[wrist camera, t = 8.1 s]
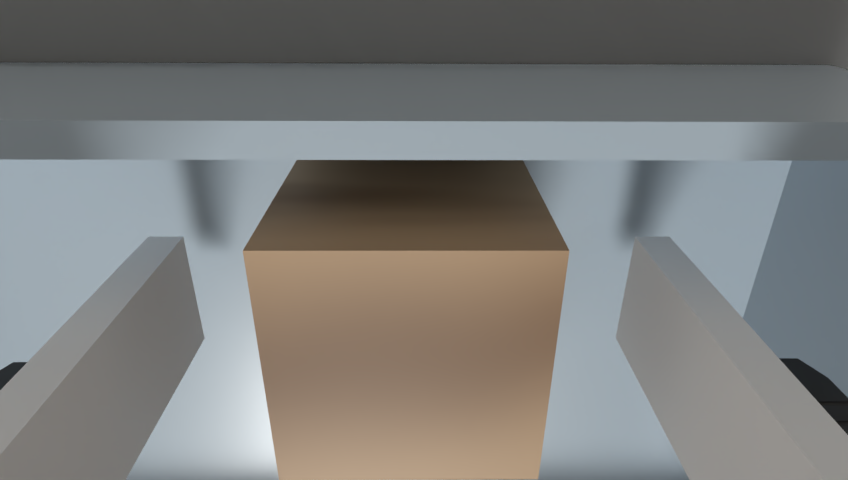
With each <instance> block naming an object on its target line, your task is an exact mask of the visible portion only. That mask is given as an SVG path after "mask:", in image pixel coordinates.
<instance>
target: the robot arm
mask: <svg viewBox="0 0 848 480" xmlns="http://www.w3.org/2000/svg"><path fill="white" fill-rule="evenodd" d="M204 339H205V338H204V333H203V328H202V324H201V319H200V314H199V309H198V305H197V300H196V295H195V290H194V285H193V281H192V276H191V271H190V266H189V262H188V257H187V252H186V247H185V243H184V238H183V237H148V238H147V239H146V240H145V241H144V242H143V243H142V244H141V245H140V246H139V247H138V248H137V249H136V250H135V251H134V252H133V253H132V254H131V255H130V256H129V257H128V258H127V259H126V260H125V261H124V262H123V263H122V264H121V266H120V267H119V268H118V269H117V270H116V271H115V272H114V273H113V274H112V275H111V276H110V277H109V278H108V279H107V280H106V281H105V282H104V283H103V284H102V285H101V286H100V287H99V288H98V289H97V290H96V291H95V293H94V294H93V295H92V296H91V297H90V298H89V299H88V300H87V301H86V302H85V303H84V304H83V305H82V306H81V307H80V308H79V309H78V310H77V311H76V312H75V313H74V314H73V315H72V316H71V317H70V318H69V319H68V321H67V322H66V323H65V324H64V325H63V326H62V327H61V328H60V329H59V330H58V331H57V332H56V333H55V334H54V335H53V336H52V337H51V338H50V339H49V340H48V341H47V342H46V343H45V344H44V345H43V346H42V348H41V349H40V350H39V351H38V352H37V353H36V354H35V355H34V356H33V357H32V358H31V359H30V360H29V361H28V362H13V363H11V364H9V365H8V366H6V367H4V368H3V369H1V370H0V480H126V478H127V476H128V475H129V473H130V471H131V469H132V467H133V466H134V464H135V462H136V460H137V459H138V457H139V455H140V453H141V451H142V450H143V448H144V446H145V444H146V442H147V441H148V439H149V437H150V435H151V433H152V432H153V430H154V428H155V426H156V425H157V423H158V421H159V419H160V417H161V416H162V414H163V412H164V410H165V408H166V407H167V405H168V403H169V401H170V399H171V398H172V396H173V394H174V392H175V391H176V389H177V387H178V385H179V383H180V382H181V380H182V378H183V376H184V374H185V373H186V371H187V369H188V367H189V365H190V364H191V362H192V360H193V358H194V357H195V355H196V353H197V351H198V349H199V348H200V346H201V344H202V342H203V340H204ZM616 339H617V341H618V343H619V345H620V347H621V349H622V351H623V353H624V355H625V357H626V359H627V361H628V362H629V364H630V366H631V368H632V370H633V372H634V374H635V376H636V378H637V380H638V382H639V384H640V386H641V388H642V389H643V391H644V393H645V395H646V397H647V399H648V401H649V403H650V405H651V407H652V409H653V411H654V413H655V415H656V416H657V418H658V420H659V422H660V424H661V426H662V428H663V430H664V432H665V434H666V436H667V438H668V440H669V442H670V443H671V445H672V447H673V449H674V451H675V453H676V455H677V457H678V459H679V461H680V463H681V465H682V467H683V468H684V470H685V472H686V474H687V476H688V478H689V480H848V397H847V396H846V395H845V394H844V393H843V392H842V391H841V390H840V389H839V388H838V387H837V386H836V385H835V384H834V383H833V382H832V381H831V380H830V379H829V378H828V377H826V376H825V375H823V374H821V373H820V372H818V371H817V370H815V369H814V368H812V367H810V366H809V365H807V364H806V363H804V362H803V361H801V360H799V359H798V358H778V357H777V356H776V355H775V353H774V352H773V351H772V350H771V349H770V348H769V347H768V346H767V345H766V343H765V342H764V341H763V340H762V339H761V338H760V337H759V336H758V335H757V333H756V332H755V331H754V330H753V329H752V328H751V327H750V326H749V325H748V323H747V322H746V321H745V320H744V319H743V318H742V317H741V316H740V315H739V313H738V312H737V311H736V310H735V309H734V308H733V307H732V306H731V305H730V303H729V302H728V301H727V300H726V299H725V298H724V297H723V296H722V294H721V293H720V292H719V291H718V290H717V289H716V288H715V287H714V286H713V284H712V283H711V282H710V281H709V280H708V279H707V278H706V277H705V276H704V274H703V273H702V272H701V271H700V270H699V269H698V268H697V267H696V266H695V264H694V263H693V262H692V261H691V260H690V259H689V258H688V257H687V256H686V254H685V253H684V252H683V251H682V250H681V249H680V248H679V247H678V246H677V244H676V243H675V242H674V241H673V240H672V239H671V238H670V237H635V240H634V245H633V251H632V256H631V261H630V266H629V271H628V276H627V281H626V287H625V292H624V297H623V302H622V307H621V312H620V318H619V323H618V328H617V333H616Z"/></svg>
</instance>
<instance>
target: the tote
mask: <svg viewBox="0 0 848 480" xmlns="http://www.w3.org/2000/svg"><path fill="white" fill-rule="evenodd" d="M296 160H523V161H524V163H525V165H526V167H527V169H528V171H529V173H530V175H531V177H532V179H533V181H534V183H535V185H536V187H537V189H538V191H539V193H540V194H541V196H542V198H543V200H544V202H545V204H546V206H547V208H548V210H549V212H550V214H551V216H552V218H553V220H554V222H555V224H556V225H557V227H558V229H559V231H560V233H561V235H562V237H563V239H564V241H565V243H566V245H567V247H568V249H569V258H568V265H567V272H566V280H565V287H564V294H563V302H562V309H561V316H560V324H559V331H558V338H557V345H556V353H555V360H554V367H553V375H552V382H551V389H550V397H549V404H548V411H547V418H546V426H545V433H544V440H543V448H542V455H541V462H540V470H539V477H538V479H481V480H689V478H688V476H687V474H686V472H685V470H684V468H683V467H682V465H681V463H680V461H679V459H678V457H677V455H676V453H675V451H674V449H673V447H672V445H671V443H670V442H669V440H668V438H667V436H666V434H665V432H664V430H663V428H662V426H661V424H660V422H659V420H658V418H657V416H656V415H655V413H654V411H653V409H652V407H651V405H650V403H649V401H648V399H647V397H646V395H645V393H644V391H643V389H642V388H641V386H640V384H639V382H638V380H637V378H636V376H635V374H634V372H633V370H632V368H631V366H630V364H629V362H628V361H627V359H626V357H625V355H624V353H623V351H622V349H621V347H620V345H619V343H618V341H617V339H616V333H617V328H618V323H619V318H620V312H621V307H622V302H623V297H624V292H625V287H626V281H627V276H628V271H629V266H630V261H631V256H632V251H633V245H634V240H635V237H670V238H671V239H672V240H673V241H674V242H675V243H676V244H677V246H678V247H679V248H680V249H681V250H682V251H683V252H684V253H685V254H686V256H687V257H688V258H689V259H690V260H691V261H692V262H693V263H694V264H695V266H696V267H697V268H698V269H699V270H700V271H701V272H702V273H703V274H704V276H705V277H706V278H707V279H708V280H709V281H710V282H711V283H712V284H713V286H714V287H715V288H716V289H717V290H718V291H719V292H720V293H721V294H722V296H723V297H724V298H725V299H726V300H727V301H728V302H729V303H730V305H731V306H732V307H733V308H734V309H735V310H736V311H737V312H738V313H739V315H740V316H741V317H742V318H743V319H744V320H745V321H746V322H747V323H748V325H749V326H750V327H751V328H752V329H753V330H754V331H755V332H756V333H757V335H758V336H759V337H760V338H761V339H762V340H763V341H764V342H765V343H766V345H767V346H768V347H769V348H770V349H771V350H772V351H773V352H774V353H775V355H776V356H777V357H778V358H798V359H799V360H801V361H803V362H804V363H806V364H807V365H809V366H810V367H812V368H814V369H815V370H817V371H818V372H820V373H821V374H823V375H825V376H826V377H828V378H829V379H830V380H831V381H832V382H833V383H834V384H835V385H836V386H837V387H838V388H839V389H840V390H841V391H842V392H843V393H844V394H845V395H846V396H847V397H848V70H847V69H843V68H839V67H835V66H831V65H655V64H344V63H32V62H0V370H1V369H3V368H4V367H6V366H8V365H9V364H11V363H13V362H28V361H29V360H30V359H31V358H32V357H33V356H34V355H35V354H36V353H37V352H38V351H39V350H40V349H41V348H42V346H43V345H44V344H45V343H46V342H47V341H48V340H49V339H50V338H51V337H52V336H53V335H54V334H55V333H56V332H57V331H58V330H59V329H60V328H61V327H62V326H63V325H64V324H65V323H66V322H67V321H68V319H69V318H70V317H71V316H72V315H73V314H74V313H75V312H76V311H77V310H78V309H79V308H80V307H81V306H82V305H83V304H84V303H85V302H86V301H87V300H88V299H89V298H90V297H91V296H92V295H93V294H94V293H95V291H96V290H97V289H98V288H99V287H100V286H101V285H102V284H103V283H104V282H105V281H106V280H107V279H108V278H109V277H110V276H111V275H112V274H113V273H114V272H115V271H116V270H117V269H118V268H119V267H120V266H121V264H122V263H123V262H124V261H125V260H126V259H127V258H128V257H129V256H130V255H131V254H132V253H133V252H134V251H135V250H136V249H137V248H138V247H139V246H140V245H141V244H142V243H143V242H144V241H145V240H146V239H147V238H148V237H183V238H184V243H185V247H186V252H187V257H188V262H189V266H190V271H191V276H192V281H193V285H194V290H195V295H196V300H197V305H198V309H199V314H200V319H201V324H202V328H203V333H204V338H205V339H204V340H203V342H202V344H201V346H200V348H199V349H198V351H197V353H196V355H195V357H194V358H193V360H192V362H191V364H190V365H189V367H188V369H187V371H186V373H185V374H184V376H183V378H182V380H181V382H180V383H179V385H178V387H177V389H176V391H175V392H174V394H173V396H172V398H171V399H170V401H169V403H168V405H167V407H166V408H165V410H164V412H163V414H162V416H161V417H160V419H159V421H158V423H157V425H156V426H155V428H154V430H153V432H152V433H151V435H150V437H149V439H148V441H147V442H146V444H145V446H144V448H143V450H142V451H141V453H140V455H139V457H138V459H137V460H136V462H135V464H134V466H133V467H132V469H131V471H130V473H129V475H128V476H127V478H126V480H279V477H278V470H277V464H276V458H275V452H274V445H273V439H272V433H271V426H270V420H269V414H268V407H267V401H266V395H265V389H264V382H263V376H262V370H261V363H260V357H259V351H258V344H257V338H256V332H255V326H254V319H253V313H252V307H251V300H250V294H249V288H248V282H247V275H246V269H245V263H244V256H243V249H244V248H245V246H246V244H247V243H248V241H249V239H250V238H251V236H252V234H253V233H254V231H255V229H256V227H257V226H258V224H259V222H260V221H261V219H262V217H263V216H264V214H265V212H266V211H267V209H268V207H269V206H270V204H271V202H272V201H273V199H274V197H275V196H276V194H277V192H278V191H279V189H280V187H281V186H282V184H283V182H284V181H285V179H286V177H287V176H288V174H289V172H290V170H291V169H292V167H293V165H294V164H295V162H296Z"/></svg>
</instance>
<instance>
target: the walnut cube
mask: <svg viewBox="0 0 848 480" xmlns="http://www.w3.org/2000/svg"><path fill="white" fill-rule="evenodd" d="M243 256H244V263H245V269H246V275H247V282H248V288H249V294H250V300H251V307H252V313H253V319H254V326H255V332H256V338H257V344H258V351H259V357H260V363H261V370H262V376H263V382H264V389H265V395H266V401H267V407H268V414H269V420H270V426H271V433H272V439H273V445H274V452H275V458H276V464H277V470H278V477H279V480H481V479H538V477H539V470H540V462H541V455H542V448H543V440H544V433H545V426H546V418H547V411H548V404H549V397H550V389H551V382H552V375H553V367H554V360H555V353H556V345H557V338H558V331H559V324H560V316H561V309H562V302H563V294H564V287H565V280H566V272H567V265H568V258H569V249H568V247H567V245H566V243H565V241H564V239H563V237H562V235H561V233H560V231H559V229H558V227H557V225H556V224H555V222H554V220H553V218H552V216H551V214H550V212H549V210H548V208H547V206H546V204H545V202H544V200H543V198H542V196H541V194H540V193H539V191H538V189H537V187H536V185H535V183H534V181H533V179H532V177H531V175H530V173H529V171H528V169H527V167H526V165H525V163H524V161H523V160H296V162H295V164H294V165H293V167H292V169H291V170H290V172H289V174H288V176H287V177H286V179H285V181H284V182H283V184H282V186H281V187H280V189H279V191H278V192H277V194H276V196H275V197H274V199H273V201H272V202H271V204H270V206H269V207H268V209H267V211H266V212H265V214H264V216H263V217H262V219H261V221H260V222H259V224H258V226H257V227H256V229H255V231H254V233H253V234H252V236H251V238H250V239H249V241H248V243H247V244H246V246H245V248H244V249H243Z"/></svg>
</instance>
